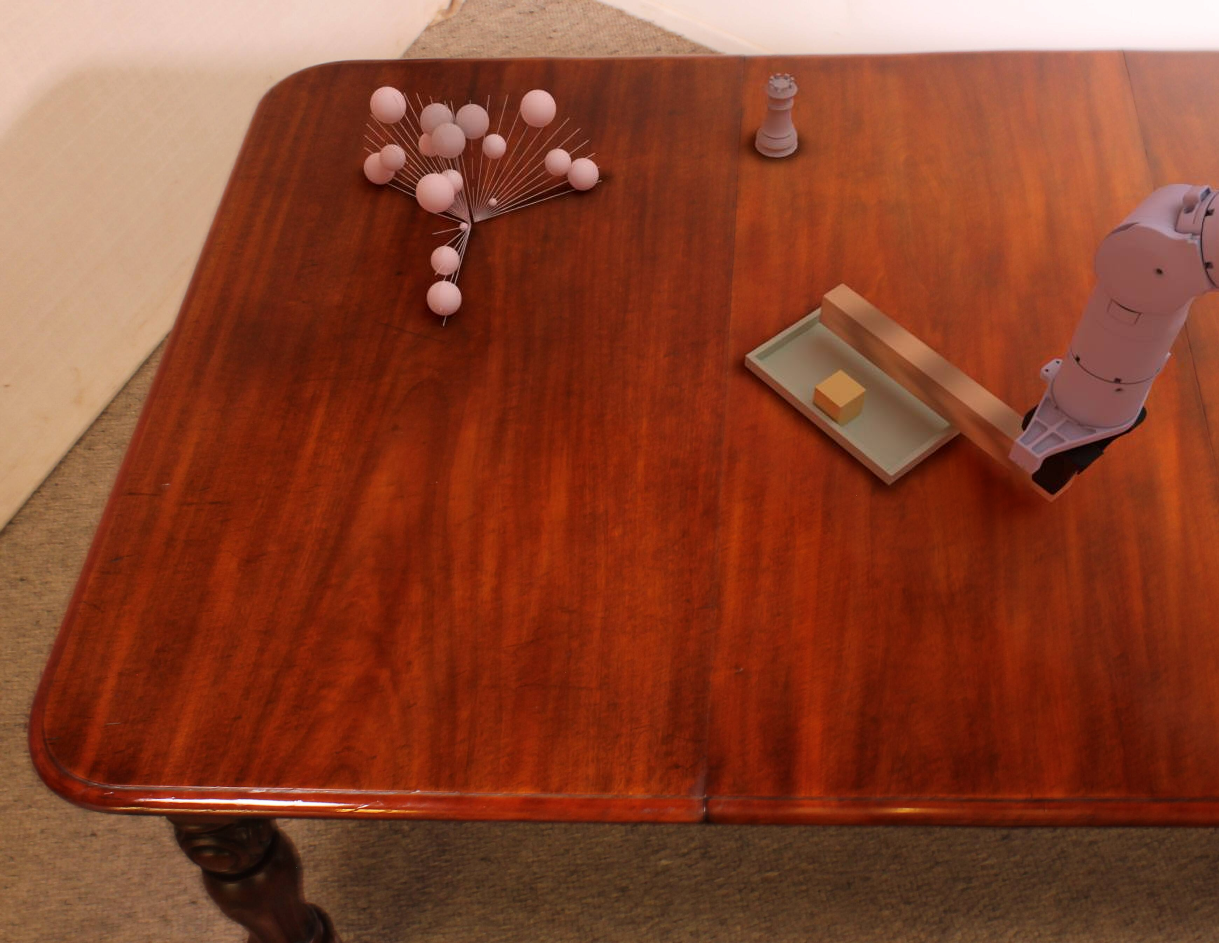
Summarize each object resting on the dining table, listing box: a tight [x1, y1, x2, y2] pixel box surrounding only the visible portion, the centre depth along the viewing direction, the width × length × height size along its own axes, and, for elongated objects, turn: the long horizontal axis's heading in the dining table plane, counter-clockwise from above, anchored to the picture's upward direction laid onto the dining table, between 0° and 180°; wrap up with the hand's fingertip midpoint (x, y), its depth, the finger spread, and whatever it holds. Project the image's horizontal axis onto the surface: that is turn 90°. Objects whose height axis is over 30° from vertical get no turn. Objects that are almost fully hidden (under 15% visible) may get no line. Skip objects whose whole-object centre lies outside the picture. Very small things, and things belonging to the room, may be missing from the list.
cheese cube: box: [812, 370, 866, 427], centre depth 90 cm, size 3×3×3 cm
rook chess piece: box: [754, 72, 798, 159], centre depth 111 cm, size 4×4×8 cm
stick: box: [819, 283, 1079, 503], centre depth 87 cm, size 25×2×3 cm, turn 38°
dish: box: [744, 306, 961, 486], centre depth 92 cm, size 17×11×2 cm, turn 38°
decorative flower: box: [363, 86, 601, 327], centre depth 101 cm, size 25×22×14 cm
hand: (1057, 474), depth 82 cm, fingers closed on stick, 2 cm apart
